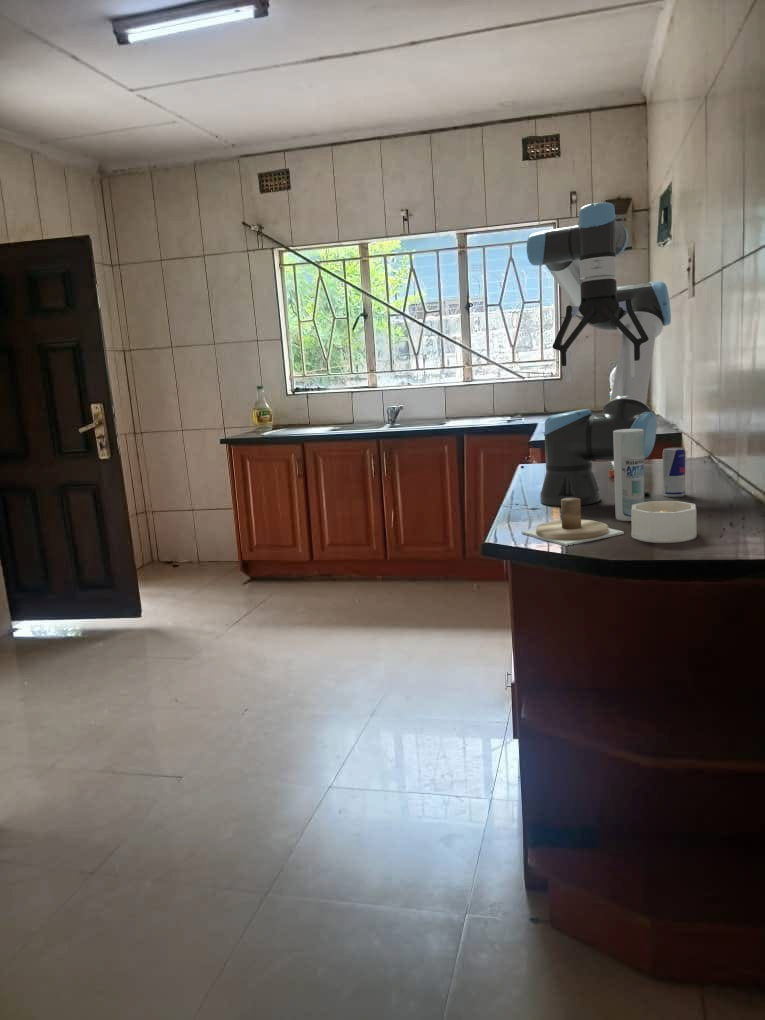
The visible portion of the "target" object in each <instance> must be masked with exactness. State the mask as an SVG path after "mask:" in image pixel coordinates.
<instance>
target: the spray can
mask: <svg viewBox="0 0 765 1020" xmlns="http://www.w3.org/2000/svg"><path fill="white" fill-rule="evenodd" d="M613 444H614V461H613V469H614V470H613V474H614V505H615V506H614V507H615V508H614V509H615V511H614V513H615V519H616V520H618V521H622V522H623V521H624V522H631V509H632V505H633V504H638V503H644V502H645V459H644V430H643V429H621V430H615V431H613Z"/></svg>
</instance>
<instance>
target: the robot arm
mask: <svg viewBox="0 0 765 1020" xmlns="http://www.w3.org/2000/svg"><path fill="white" fill-rule="evenodd" d="M616 218H617V215H616V211H615V205H614V204H613V203H612V202H605V201H604V202H596V203H589V204H586V205H584V206H582V207H581V208H580V209H579V212H578V221H577V222H578V223H577V225H573V226H572V225H571V226H567V227H560V228H559V227H558V228H554V229H547V230H546V229H543V230H541V231H537V232H533V233H531V234H530V235H529V236H528V238H527V239H526V240H527V241H526V255H527V259H528V262H529V264H530V265H532V266H539V267H541V266H544V265H545V267H546V268H547V269H548V271H549V272H550V274H551V275H552V277H553V278H554V280H555V281H556V283H557V284H558V285H559V287H560V288H561V290H562V291H563V293H564V294H565V295H566V297H567V299H568V301H569V304H568V305H567V306H566V307H565V309H566V310H565V317H564V318H563V321H562V323H561V326H560V329H559V331H557V335H556V337H555V339H554V342H553V343H552V346H551V347H552V349H553V350H556V351H559V352H560V359H561V360H560V361H561V363H560V364H561V366H562V367H566V382H572V379H573V378H572V375H573V374H572V352H571V351H568V349H569V348H570V347H571V346H572V344H573V342H574V341H575V340H576V339H577V338H578V336H579V335H580V333H582V331H583V330H584V328H585V327H586V326H587V325H589V326H590V327H592V328H596V329H599V330H603V331H617V332H618V333H619V335H620V342H619V348H618V355H617V360H616V366H615V374H614V380H613V385H612V389H611V390H612V392H611V397H610V400H609V401H607V402H606V404H604V406H603V409H602V413H598V414H592V413H593V412H592V411H591V409H590V408H585V409H578V410H577V409H576V410H573V411H567V412H566V411H565V412H562V413H557V414H552V415H549V416H548V417H546V419H545V421H544V434H543V436H544V448H545V449H544V451H545V454H544V455H545V476H544V480H543V483H542V487H541V491H540V493H539V496H540V497H539V498H540V503H541V504H543V505H547V506H555V507H557V506H558V507H561V499H564V498H579V499H580V503H581V506H585V505H591V504H595V503H599V501H600V500H601V492H600V491H601V490H600V489H599V486H598V483H597V479H596V476H595V475H594V472H593V462H595V461H597V462H598V461H602V462H604V461H605V462H606V461H610V462H611V461H613V462H614V444H613V431H615V430H621V429H643V430H644V460H645V459H647V458H648V457H649V456H650V454H651V453H652V452H653V450H654V449H653V448H654V446H655V442H656V438H657V433H656V432H657V418H656V415H655V414H654V412H652V410H651V407H649V405H648V404H647V398H648V391H649V384H650V377H651V371H652V363H653V356H654V350H655V341H656V338H657V337H658V336H660V335H661V333H662V331H663V329H664V327H666V326H669V325H670V324H671V322H672V321H671V319H672V318H671V317H672V315H671V304H670V297H669V292H668V286H667V284H666V283H665V282H664V281H650V280H649V281H648V282H643V283H633V284H626V285H625V284H624V285H617V280H616V278H615V277H616V276H617V257H616V256H618V255H620V254H621V253H623V252H624V250H625V249H626V248H627V246H628V242H629V233H628V231H627V229H626V227H625V226H624V225H623V224H622V223H621V222H619V221H616ZM574 316H576V317H577V318H578V320H580V321H579V323H578V324H577V326H576V327H575V329H574V330H573V331H572V332H571V334H570V335H569V337H568V338H567V339H566V340H565V341H564V343H563V344H562V341H563V339H564V337H565V334H566V332H567V330H568V328H569V326H570V324H571V321H572V318H573V317H574Z"/></svg>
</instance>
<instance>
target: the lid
mask: <svg viewBox="0 0 765 1020" xmlns="http://www.w3.org/2000/svg"><path fill="white" fill-rule="evenodd" d="M560 509H561V520H560V519H559V520H553V521H548V522H542V523H541V524H540V523H539V524H538V525H537V526H535V529H536V534H537V535H538V536H540V537H543V538H548V539H556V540H582V539H590V538H596V537H600V536H603V535H605V534H607V533H608V528H609V526H608V524H606V523H605V522H601V521H599V520H598V521H596V520H593V519H592V520H591V519H582V513H581V512H582V510H581V509H582V505H581V503H580V499H579V498H564V499H561V506H560Z"/></svg>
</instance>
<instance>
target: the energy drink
mask: <svg viewBox="0 0 765 1020" xmlns="http://www.w3.org/2000/svg"><path fill="white" fill-rule="evenodd" d="M686 491H687V490H686V450H685V448H684V447H666V448H663V451H662V495H663V496H664V497H666V498H667V497H668V498H680V497H681V498H683V497H684V496H685V495H686Z"/></svg>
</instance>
